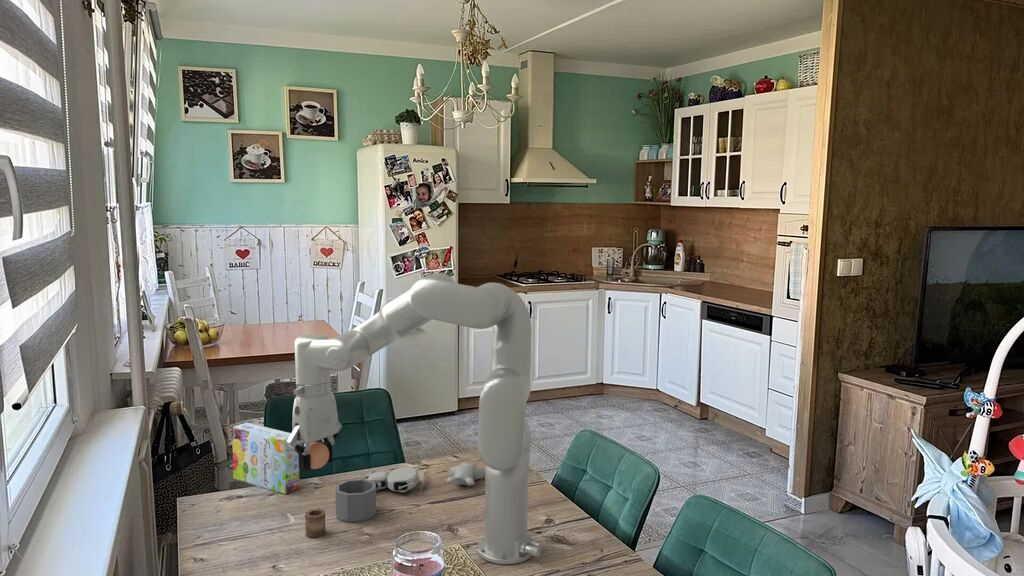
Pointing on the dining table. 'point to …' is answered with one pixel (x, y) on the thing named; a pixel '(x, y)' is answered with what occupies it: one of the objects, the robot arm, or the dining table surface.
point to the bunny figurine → (465, 474)
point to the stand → (315, 523)
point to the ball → (318, 455)
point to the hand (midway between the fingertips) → (316, 465)
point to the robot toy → (395, 479)
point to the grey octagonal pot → (355, 500)
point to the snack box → (264, 458)
